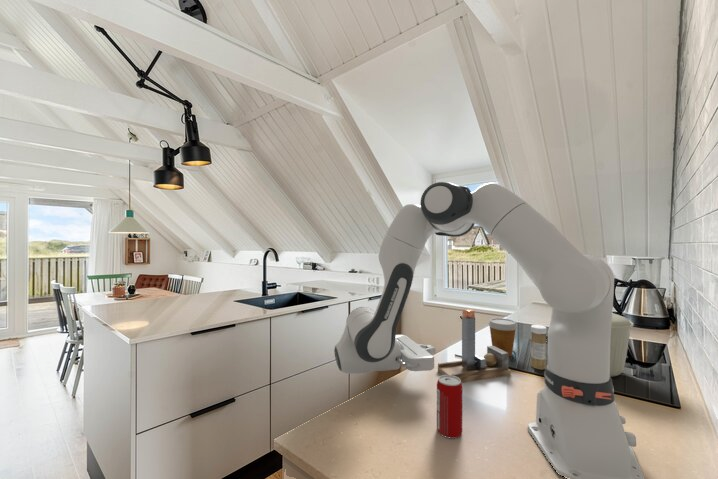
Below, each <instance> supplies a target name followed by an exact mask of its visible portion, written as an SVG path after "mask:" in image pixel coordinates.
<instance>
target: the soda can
mask: <svg viewBox="0 0 718 479" xmlns="http://www.w3.org/2000/svg"><path fill="white" fill-rule="evenodd" d="M463 390H464V389H463V382H461V380H460V379H459V378H458V377H456V376H453V375H442V374H441V375H439V376H438V378H437V382H436V432H437V433H438V434H439V433H440V434H441V435H443V436H446V437H450V438H455V439H457V438H456V437H458V438H459V437H461V436H462V435H463ZM440 434H439V435H440ZM441 435H440V436H441ZM443 436H442V437H443Z"/></svg>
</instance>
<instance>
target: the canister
mask: <svg viewBox="0 0 718 479" xmlns="http://www.w3.org/2000/svg"><path fill="white" fill-rule="evenodd" d="M634 325H635V323H634V322H632V321H631V320H630V319H628V318H626V317H625V316H622V315H620V314H617V313H613V312H612V325H611V336H610V377H611V378H612V377H617V376H619V375H621V374H622V373H623V371H624V369H625V365H626V360H627V355H628V348H629V343H630V342H629V341H630V337H631V336H630V335H631V328H633V327H634Z"/></svg>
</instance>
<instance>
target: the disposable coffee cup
mask: <svg viewBox="0 0 718 479" xmlns="http://www.w3.org/2000/svg"><path fill="white" fill-rule="evenodd" d="M488 327H489V332H490V338H491V339H490V340H491V346H495V347H497V348H499V349H501V350H503V351H505V352H507V353H508V358H511V357H512V356H513V350H514V343H515V336H516V329H517V328H518V325H517V323H516V321H515V320H512V319H509V318H502V317H501V318H500V317H496V318H490V319H489V322H488Z"/></svg>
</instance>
